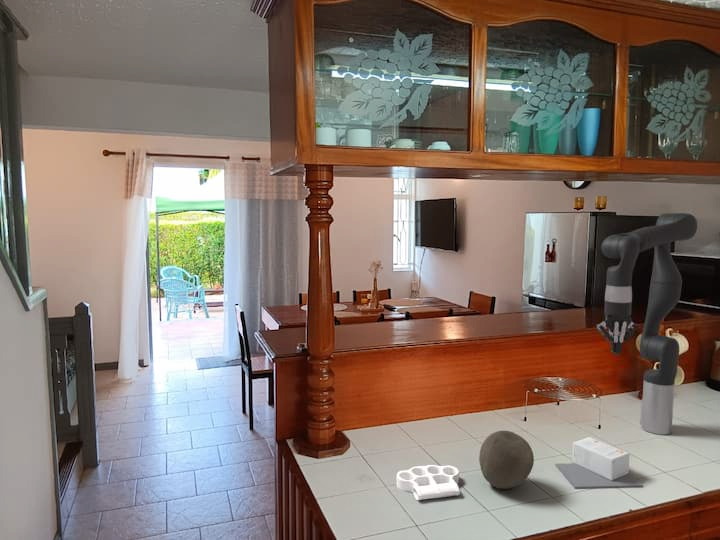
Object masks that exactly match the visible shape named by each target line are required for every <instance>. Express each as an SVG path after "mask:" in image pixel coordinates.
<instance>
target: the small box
mask: <svg viewBox="0 0 720 540" xmlns="http://www.w3.org/2000/svg"><path fill="white" fill-rule="evenodd" d="M571 459H572V460H571V461H572V463H575V464H578V465H580V466H582V467H584V468H586V469H588V470H590V471H592V472H594V473H597V474H599V475H601V476H603V477H605V478H607V479H609V480H611V481H612V480H614V479H617V478H619V477H622V476H624V475H627V474H628V473H630V470H629V469H630V453H629V452H627V451H624V450H622V449H619V448H617V447H616V446H612V445H611V444H607V443H606V442H603V441H600V440H598V439H595V438H594V437H591V436H588V437H584V438H583V439H580V440H579V439H578V440H576V441H574V442H572V458H571Z"/></svg>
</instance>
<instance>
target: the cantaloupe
mask: <svg viewBox="0 0 720 540" xmlns="http://www.w3.org/2000/svg"><path fill="white" fill-rule="evenodd" d="M533 452H534V451H533V449H532V448H531V446H530V444H529V442H528V441H527V440H526V439H525V438H524V437H523V436H521V435H520V434H516V433H515V432H513V431H509V430H498V431H495V432H493V433H491V434H489V435H488V436H487V437H486V438H485V440H484V441H483V443H482V444H481V446H480V450H479V456H478V459H479V460H478V461H479V466H480V470H481V474H482V475H483V478H484V479H485V480H486V482H488V483H489V484H490V485H492V486H493V487H495V488H497V489H502V490H503V489H504V490H505V489H506V490H507V489H511V488H515V487H517V486H519V485H520V484H521V483H523V482H524V481H525V480H526V479H527V478H528V477H529V476H530V475H531V472H532V469H533V467H534V461H535V460H534V459H535V458H534V453H533Z"/></svg>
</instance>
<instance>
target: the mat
mask: <svg viewBox="0 0 720 540" xmlns="http://www.w3.org/2000/svg"><path fill="white" fill-rule="evenodd" d="M554 466H555V467H556V468H557V469H558V471H559V472H560V473H561V474H562V475H563V476H564V477H565V479H566V480H567V481H568V483H569V484H570V485H571V486H572V487H573V489H605V488H606V489H607V488H609V489H613V488H615V489H616V488H643V487H644V485H643V484H642V483H641V482H640V481H639V480H637V478H636V477H635V476H634V475H633V474H631V473H630V472H629V473H628V474H627V475H624V476H622V477H619V478H617V479H614V480H612V481H611V480H609V479H607V478H605V477H603V476H601V475H599V474H597V473H594V472H592V471H590V470H588V469H586V468H584V467H582V466H580V465H578V464H575V463H573V462H572V463H569V462H568V463H555V464H554Z"/></svg>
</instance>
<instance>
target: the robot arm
mask: <svg viewBox="0 0 720 540" xmlns="http://www.w3.org/2000/svg"><path fill="white" fill-rule="evenodd" d="M697 231H698V221H697V218H696V217H695V216H694V215H693V214H691V213H686V212H683V213H681V212H680V213H679V212H677V213H676V212H674V213H672V212H671V213H670V212H669V213H668V212H666V213H661V214H660V215H659V216H658V218H657V220H656V223H655V225H651V226H645V227H641V228H637V229H635V230H632V231H630V232H622V233H618V234H617V233H616V234H612V235H609V236H608V237H606V238H605V239H604V240H603V241H602V243H601V252H602V254H603V255H604V256H605V257H606V258H610V259H618V260H619V259H620V261H619V264H618V265H611V266H609V267H608V268H607V270H606V287H605V292H604V317H603V320H602V322H600V323H597V324H596V325H595V327H596V328H597V330H598V331H599V332H600V334H601V335H602V336H603V338H604V339H605V340H606V341H609V342H610V351H611V353H613V354H614V355H620V354H621V352H622V350H623V342H625V341H626V342H628V341H629V340H630V339H631V337H633V335H634V334H635V333H636V331H637V330H638V329H639V324H636V323H634V322H633V320H632V317H631V315H632V305H633V304H632V303H633V288H632V282H633V281H632V280H633V273H634V272H633V271H634V268H635V265H636V262H637V259H638V256H639V254H640V253H642V252H644V251H647V250H649V249H652V248H654V253H653V254H654V255H653V264H652V270H651V272H652V273H651V279H650V285H649V292H648V303H647V309H646V315H645V320H644V323H643V324H644V325H643V329H642V332H641V337H640V342H639V353H640V356H641V358H643V360H648V361H652V362H655V363H659V367H658V369H647V370H645V371H644V373H643V386H642V387H643V388H642V398H641V403H640V422H639V424H640V425H641V426H640V428H642V429H643V431H646V432H648V433H652V434H655V435H670V434H672V432H673V431H672V430H673V416H674V400H675V386H676V385H675V384H676V383H675V381H676V378H677V374H678V373H677V372H678V367H679V366H678V364H679V358H680V344H679V341H678V340H677V339H675V338H674V337H669V336H665V335H662V334H661V335H660V330H661V329H660V328H661V325H662V323H663V320H664V319H665V318H666V317H667V315H668V314H670V312H671V311H672V310H673V309H674V308H675V307H676V305H677V304H678V303H679V301H680V298H681V294H682V285H683V278H682V275H681V273H680V270H679V269H678V267H677V264H676V263H675V261H674V260H673V257H672V253H671V250H672V249H671V245H672V244H671V243H673V242H679V241H688V240H690V239H693V237H694V236H695V235H696V233H697ZM607 329H608V331H607Z"/></svg>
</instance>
